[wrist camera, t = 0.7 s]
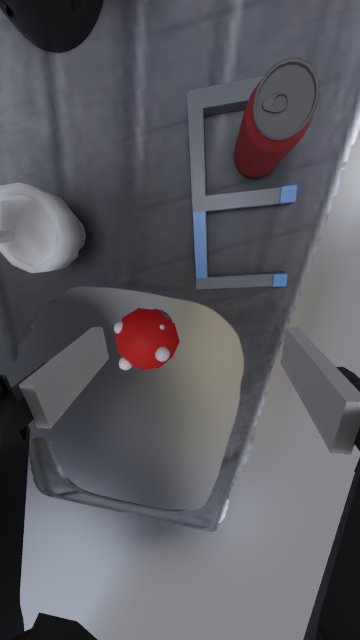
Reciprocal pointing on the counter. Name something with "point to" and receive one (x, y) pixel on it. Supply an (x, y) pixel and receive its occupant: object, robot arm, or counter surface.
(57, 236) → the potted plant
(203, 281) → the duct comb
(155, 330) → the mushroom
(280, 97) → the beer can
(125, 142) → the counter surface
